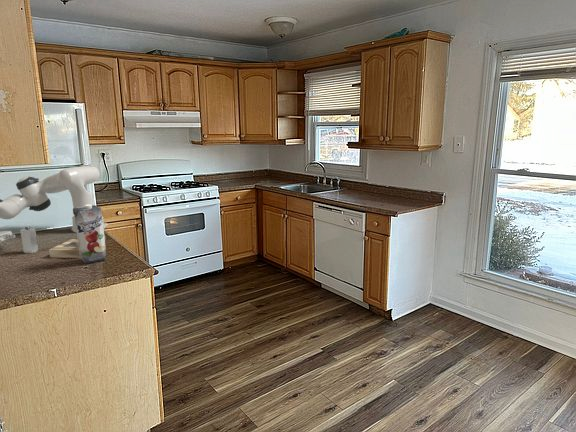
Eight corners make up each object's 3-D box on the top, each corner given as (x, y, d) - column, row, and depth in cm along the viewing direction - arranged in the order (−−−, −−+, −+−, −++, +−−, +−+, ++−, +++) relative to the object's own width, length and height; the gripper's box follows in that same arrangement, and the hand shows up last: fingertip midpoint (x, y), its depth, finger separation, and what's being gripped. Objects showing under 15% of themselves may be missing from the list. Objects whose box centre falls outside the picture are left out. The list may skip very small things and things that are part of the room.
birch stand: (71, 246, 212) (69, 232, 210) (101, 246, 211) (99, 232, 209) (50, 257, 194) (47, 241, 192) (82, 257, 193) (79, 241, 191)
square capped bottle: (30, 250, 206) (26, 225, 203) (38, 250, 206) (34, 225, 203) (23, 252, 202) (19, 227, 199) (32, 253, 201) (28, 228, 199)
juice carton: (79, 260, 189) (71, 204, 183) (102, 256, 195) (96, 201, 190) (84, 265, 182) (76, 207, 176) (108, 260, 189) (101, 204, 183)
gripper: (-2, 239, 215) (22, 239, 214) (-34, 250, 195) (-7, 251, 194) (-4, 228, 213) (21, 228, 212) (-37, 238, 193) (-10, 238, 193)
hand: (7, 239), depth 203 cm, fingers open, 8 cm apart
